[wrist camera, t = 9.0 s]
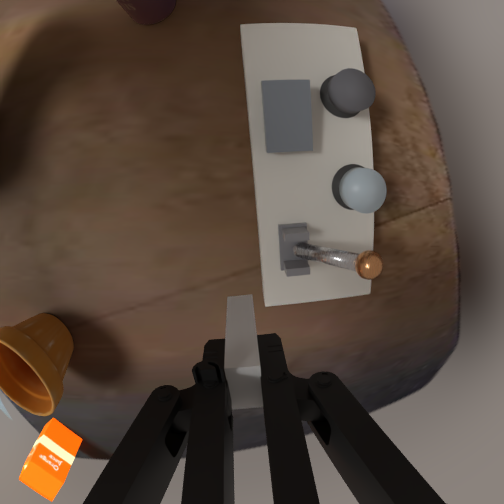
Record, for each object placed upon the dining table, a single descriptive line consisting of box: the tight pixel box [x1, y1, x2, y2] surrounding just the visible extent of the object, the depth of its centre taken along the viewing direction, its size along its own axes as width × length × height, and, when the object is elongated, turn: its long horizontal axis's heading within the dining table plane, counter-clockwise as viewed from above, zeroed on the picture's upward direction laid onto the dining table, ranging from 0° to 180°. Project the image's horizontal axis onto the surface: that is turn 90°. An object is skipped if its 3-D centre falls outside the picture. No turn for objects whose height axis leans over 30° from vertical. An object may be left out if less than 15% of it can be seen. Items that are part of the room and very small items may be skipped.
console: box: [240, 23, 374, 307], centre depth 29 cm, size 13×32×7 cm, turn 5°
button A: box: [327, 68, 375, 113], centre depth 24 cm, size 4×4×2 cm
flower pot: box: [0, 313, 74, 416], centre depth 33 cm, size 14×14×13 cm
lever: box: [293, 242, 383, 280], centre depth 27 cm, size 3×3×10 cm
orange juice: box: [19, 418, 82, 501], centre depth 39 cm, size 8×9×20 cm
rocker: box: [261, 80, 313, 153], centre depth 25 cm, size 4×7×1 cm, turn 5°
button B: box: [339, 167, 387, 213], centre depth 27 cm, size 4×4×2 cm
